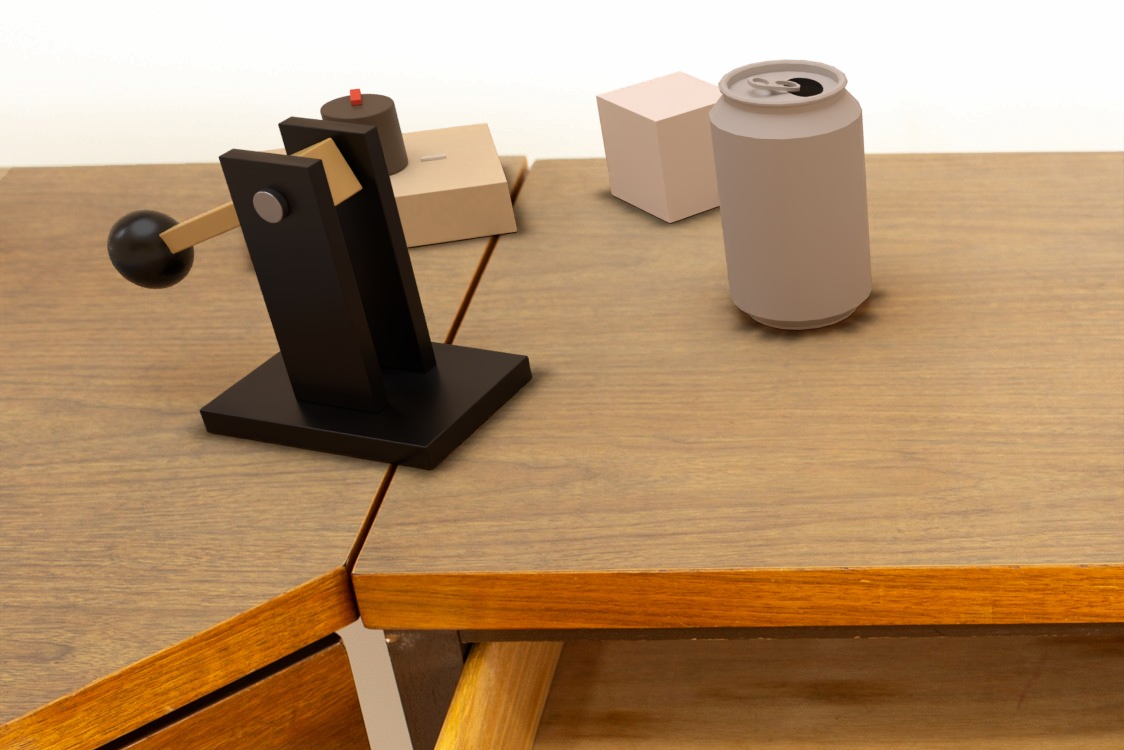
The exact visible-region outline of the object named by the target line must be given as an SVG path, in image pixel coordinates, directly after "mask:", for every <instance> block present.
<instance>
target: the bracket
mask: <svg viewBox="0 0 1124 750" xmlns="http://www.w3.org/2000/svg"><path fill="white" fill-rule="evenodd" d="M277 126H278V129H279V130H278V131H279V133H280V136H281V140H282V143H283V146H284V147H283V148H285V150H286V154H287V155H283V154H275V153H266V152H258V151H259V150H257V151H256V150H248V149H241V148H231V149H230V150H228V151H226V152H224V153H222V154H221V155H219V156H218V160H219V163H220V167H221V170H222V173H223V176H224V179H225V182H226V186H227V189H228V193H229V195H230V198H231V201H233V204H234V208H235V211H236V214H237V217H238V220H239V223H240V226H239V227H240V229H241V232H242V235H243V239H244V242H245V245H246V248H247V251H248V254H249V257H250V260H251V264H252V267H253V270H254V273H255V276H256V279H257V283H258V286H259V289H260V291H261V295H262V298H263V301H264V304H265V309H266V310H267V314H268V317H269V320H270V323H271V326H272V329H273V333H274V336H275V339H276V343H277V345H278V349H279V350H278V352H276V353H275V354H274V355H272V356H271V357H270V358H268V359H267V360H265V361H264V362H263V363H261V364H260V365H259V366H258V367H256V368H255V369H253V370H252V371H250V372H249V373H247V374H246V375H245V376H243V377H242V378H241V379H239V380H238V381H237V382H235V383H233V384H232V385H230V386H229V387H228V388H227V389H225V390H224V391H223V392H221V393H220V394H219V395H217V396H216V397H215V398H213V399H212V400H210V401H209V402H208V403H206V404H205V405H203V406H202V407H201V408H200V409H198V410H199V414H200V416H201V419H202V422H203V425H204V427H205V430H206V432H207V433H213V434H219V435H225V436H230V437H235V438H236V437H237V438H242V439H249V440H254V441H260V442H266V443H271V444H278V445H283V446H289V447H290V446H291V447H295V448H302V449H307V450H313V451H319V452H326V453H330V454H337V455H343V456H349V457H353V458H355V457H356V458H359V459H360V458H361V459H365V460H366V459H367V460H373V461H379V462H385V463H391V464H396V465H401V466H402V465H403V466H408V467H414V468H418V469H420V468H421V469H426V470H434V469H435V467H437V466H438V465H439V464H440V463H441V462H442V461H443V460H444V459H446V458H447V456H449V455H450V454H451V453H452V452H453V451H454V450H455V449H456V448H457V447H458V446H460V445H461V444H462V443H463V442H464V441H465V440H466V439H467V438H468V437H469V436H470V435H471V434H473V432H475V431H476V430H477V429H478V428H479V427H480V426H481V425H482V424H484V422H486V420H488V419H489V418H490V417H491V416H492V415H494V413H495V412H496V411H497V410H498V409H500V408H501V407H502V406H503V405H504V404H506V402H507V401H508V400H510V399H511V398H512V397H513V396H514V395H515V394H516V393H517V392H518V391H519V390H521V389H522V388H523V386H525V385H526V384H527V383H528V382H529V381H530V380H531V379H532V378H533V374H532V369H531V365H530V360H529V356H528V355H524V354H518V353H511V352H505V351H498V350H491V349H486V348H485V349H484V348H478V347H472V346H471V347H470V346H464V345H457V344H451V343H444V342H438V341H432V339H431V335H430V331H429V327H428V323H427V319H426V316H425V311H424V308H423V307H424V306H423V304H422V300H421V296H420V292H419V288H418V283H417V280H416V276H415V275H416V274H415V272H414V269H413V263H412V260H411V256H410V251H409V247H407V243H406V239H405V235H404V232H403V228H402V224H401V220H400V216H399V212H398V208H397V204H396V200H395V196H394V192H393V188H392V184H391V180H390V176H389V172H388V168H387V164H386V160H385V156H384V152H383V148H382V144H381V140H380V136H379V132H378V128H377V126H371V125H362V124H353V123H345V122H336V121H327V120H322V119H317V118H309V117H300V116H293V115H292V116H290V117H287V118H286V119H284V120H282V121H281V122H279V123H278V124H277ZM328 138H331V139H332V140H333V141H334V143H335V145H336V146H337V148H338V149H339V151H340V153H341V154H342V156H343V157H344V159H345V161H346V162H347V164H348V165H349V167H350V169H351V170H352V172H353V173H354V175H355V177H356V178H357V180H358V181H359V183H360V185H361V186H362V190H360V191H358V192H357V193H355V194H354V195H352V196H351V197H349V198H348V199H346V200H344V201H343V202H341V203H340V204H338V205H337V206H335V205H334V201H333V198H332V194H331V190H330V187H329V183H328V180H327V176H326V172H325V169H324V165H323V162H322V159H316V158H308V157H299V156H291V155H292V154H294V153H297V152H299V151H301V150H303V149H306V148H308V147H310V146H312V145H315V144H317V143H319V142H321V141H324V140H326V139H328Z"/></svg>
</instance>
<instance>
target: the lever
mask: <svg viewBox="0 0 1124 750" xmlns="http://www.w3.org/2000/svg"><path fill="white" fill-rule="evenodd" d="M291 156H299V157H308V158H316V159H322V162H323V165H324V169H325V172H326V176H327V180H328V183H329V187H330V190H331V194H332V198H333V201H334V205H335V206H337V205H338V204H340V203H341V202H343V201H344V200H346V199H348V198H349V197H351V196H352V195H354V194H355V193H357V192H358V191H360V190H362V186H361V185H360V183H359V181H358V180H357V178H356V177H355V175H354V173H353V172H352V170H351V169H350V167H349V165H348V164H347V162H346V161H345V159H344V157H343V156H342V154H341V153H340V151H339V149H338V148H337V146H336V145H335V143H334V141H333V140H332V139H331V138H328V139H326V140H324V141H321V142H319V143H317V144H315V145H312V146H310V147H308V148H306V149H303V150H301V151H299V152H297V153H294V154H292V155H291ZM239 227H241V226H240V223H239V220H238V217H237V214H236V211H235V208H234V204H233V201H232V200H231V201H228V202H226V203H223V204H222V205H219V206H217V207H214V208H211V209H209V210H208V211H205V212H203V213H200V214H198V215H196V216H194V217H191V218H189V219H187V220H184V221H182V222H180V221H178V220H176V219H175V218H174V217H172V216H171V215H168V214H167V213H164V212H162V211H158V210H155V209H154V210H153V209H138V210H133V211H130V212H127V213H126V214H124V215H122V216H121V217H119V218H118V219H117V220H116V221H115V222H114V223H113V225H112V226H111V228H110V230H109V232H108V235H107V241H106V248H107V254H108V257H109V260H110V262H111V264H112V266H113V268H114V269H115V270H116V271H117V273H119V275H120V276H121V277H123V278H124V279H125V280H127V282H129V283H131V284H133V285H135V286H137V287H140V288H144V289H147V290H148V289H149V290H162V289H163V290H164V289H168V288H170V287H173V286H176V285H178V284H179V283H181V282H182V281H183V280H185V278H187V276H188V275H189V273H190V272H191V270H192V268H193V266H194V262H195V247H194V246H197V245H198V244H201V243H204V242H206V241H208V240H210V239H213V238H215V237H218V236H220V235H222V234H225V233H227V232H230V231H232V230H234V229H236V228H237V229H238V228H239Z"/></svg>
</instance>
